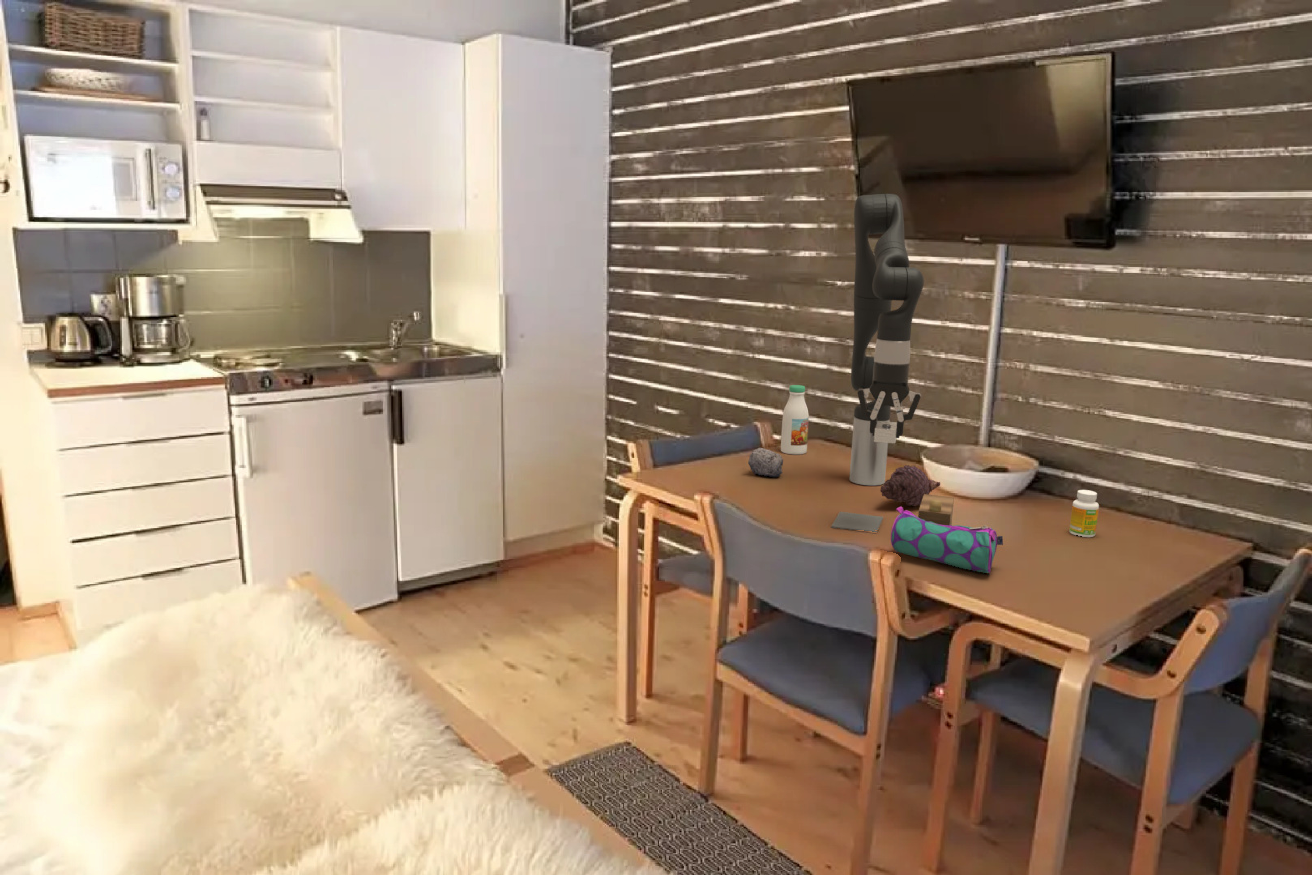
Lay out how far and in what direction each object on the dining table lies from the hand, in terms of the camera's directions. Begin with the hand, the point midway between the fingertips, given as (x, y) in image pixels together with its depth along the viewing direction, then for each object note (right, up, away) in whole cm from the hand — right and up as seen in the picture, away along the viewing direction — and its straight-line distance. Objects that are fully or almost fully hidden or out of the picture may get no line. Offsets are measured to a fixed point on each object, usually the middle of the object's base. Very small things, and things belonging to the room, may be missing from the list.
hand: (885, 436), depth 211 cm
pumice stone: (-21, -11, +46) cm, 52 cm away
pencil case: (+7, -26, -18) cm, 32 cm away
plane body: (+10, -22, -2) cm, 24 cm away
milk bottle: (-10, -5, +73) cm, 74 cm away
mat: (-5, -20, +6) cm, 21 cm away
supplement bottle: (+45, -22, +2) cm, 50 cm away
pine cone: (+10, -17, +21) cm, 29 cm away
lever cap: (0, -1, 0) cm, 1 cm away
